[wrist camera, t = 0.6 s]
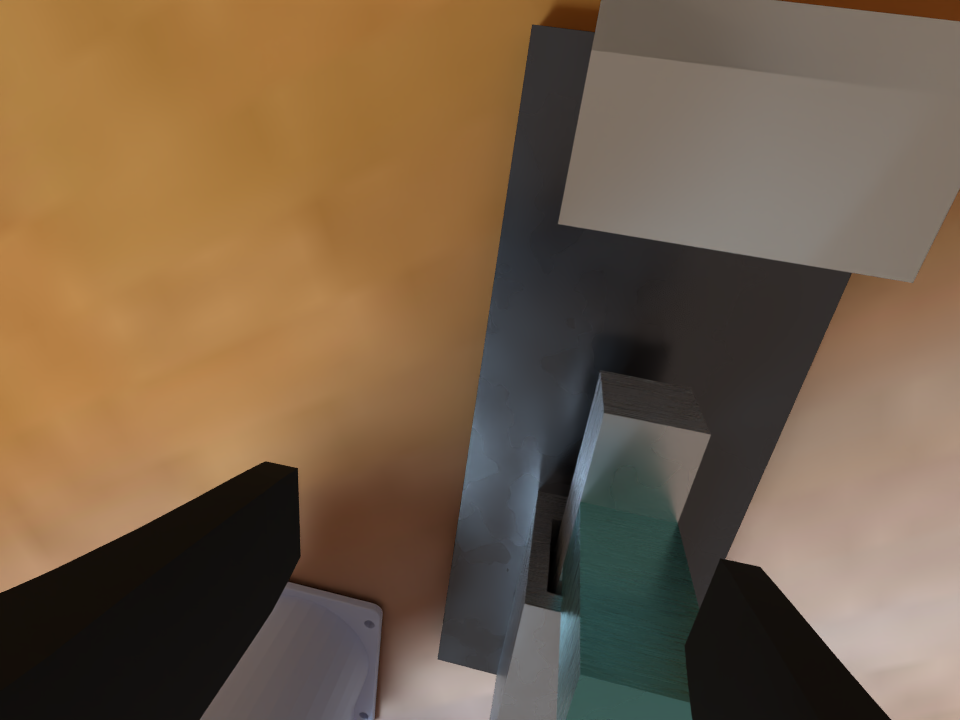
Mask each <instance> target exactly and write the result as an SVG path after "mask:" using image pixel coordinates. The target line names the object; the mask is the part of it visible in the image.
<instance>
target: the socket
mask: <svg viewBox="0 0 960 720" xmlns="http://www.w3.org/2000/svg"><path fill="white" fill-rule="evenodd" d="M959 189H960V21H951V20H943V19H934V18H925V17H916V16H908V15H899V14H890V13H882V12H873V11H864V10H855V9H847V8H838V7H829V6H821V5H812V4H803V3H794V2H786V1H777V0H601V4H600V9H599V14H598V19H597V24H596V30H595V35H594V40H593V45H592V50H591V55H590V61H589V66H588V71H587V76H586V81H585V87H584V92H583V97H582V102H581V107H580V112H579V118H578V123H577V128H576V133H575V138H574V144H573V149H572V154H571V159H570V164H569V169H568V175H567V180H566V185H565V190H564V195H563V201H562V206H561V211H560V216H559V221H558V224H561V225H567V226H573V227H579V228H585V229H591V230H597V231H603V232H609V233H615V234H621V235H627V236H633V237H639V238H645V239H651V240H657V241H663V242H669V243H675V244H681V245H687V246H693V247H699V248H705V249H711V250H718V251H724V252H730V253H736V254H742V255H748V256H754V257H760V258H766V259H772V260H778V261H784V262H790V263H796V264H802V265H808V266H814V267H820V268H826V269H832V270H838V271H844V272H850V273H856V274H862V275H868V276H874V277H880V278H886V279H892V280H898V281H904V282H911V283H913V282H914V280H915V278H916V276H917V274H918V272H919V270H920V268H921V266H922V264H923V262H924V259H925V257H926V255H927V253H928V251H929V249H930V247H931V245H932V243H933V241H934V239H935V237H936V235H937V233H938V231H939V229H940V227H941V225H942V223H943V221H944V219H945V217H946V215H947V213H948V211H949V209H950V207H951V205H952V203H953V201H954V199H955V197H956V195H957V193H958V191H959Z"/></svg>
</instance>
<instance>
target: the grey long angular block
mask: <svg viewBox="0 0 960 720" xmlns="http://www.w3.org/2000/svg"><path fill="white" fill-rule="evenodd" d="M594 35H595V32H588V31H580V30H572V29H564V28H556V27H548V26H540V25H532V29H531V36H530V42H529V49H528V56H527V63H526V69H525V76H524V83H523V89H522V96H521V103H520V110H519V116H518V123H517V130H516V136H515V143H514V150H513V157H512V163H511V170H510V177H509V183H508V190H507V197H506V204H505V210H504V217H503V224H502V230H501V237H500V244H499V251H498V257H497V264H496V271H495V277H494V284H493V291H492V297H491V304H490V311H489V318H488V324H487V331H486V338H485V344H484V351H483V358H482V365H481V371H480V378H479V385H478V391H477V398H476V405H475V412H474V418H473V425H472V432H471V438H470V445H469V452H468V459H467V465H466V472H465V479H464V485H463V492H462V499H461V505H460V512H459V519H458V526H457V532H456V539H455V546H454V552H453V559H452V566H451V573H450V579H449V586H448V593H447V599H446V606H445V613H444V620H443V626H442V633H441V640H440V646H439V653H438V659H439V660H442V661H446V662H450V663H454V664H458V665H461V666H465V667H469V668H473V669H477V670H481V671H484V672H488V673H492V674H496V675H497V676H496V682H495V689H494V695H493V702H492V708H491V715H490V720H556V718H557V694H558V669H559V645H560V620H561V595H557V594H552V593H548V592H547V582H548V573H549V569H550V565H551V562H552V558H553V554H554V550H555V546H556V542H557V538H558V534H559V530H560V526H561V522H562V519H563V515H564V511H565V507H566V503H567V499H568V495H569V491H570V487H571V483H572V480H573V476H574V472H575V468H576V464H577V460H578V456H579V452H580V448H581V444H582V441H583V437H584V433H585V429H586V425H587V421H588V417H589V413H590V409H591V405H592V402H593V398H594V394H595V390H596V386H597V382H598V378H599V374H600V370H601V371H606V372H612V373H617V374H622V375H627V376H632V377H637V378H642V379H648V380H653V381H658V382H663V383H668V384H673V385H678V386H684V387H689V388H691V390H692V392H693V395H694V397H695V399H696V402H697V404H698V406H699V408H700V411H701V413H702V415H703V417H704V420H705V422H706V424H707V427H708V429H709V431H710V433H711V436H710V439H709V441H708V444H707V447H706V449H705V452H704V455H703V457H702V460H701V463H700V465H699V468H698V471H697V473H696V476H695V478H694V481H693V484H692V486H691V489H690V492H689V494H688V497H687V500H686V502H685V505H684V508H683V510H682V513H681V516H680V518H679V521H678V527H679V531H680V535H681V538H682V542H683V546H684V550H685V554H686V558H687V562H688V566H689V570H690V574H691V578H692V582H693V586H694V590H695V594H696V598H697V602H698V606H699V609H700V607H701V604H702V602H703V599H704V597H705V595H706V592H707V590H708V587H709V585H710V582H711V580H712V577H713V575H714V573H715V570H716V568H717V565H718V563H719V560H720V558H721V559H725V558H726V556H727V554H728V552H729V549H730V547H731V545H732V543H733V540H734V538H735V536H736V534H737V531H738V529H739V527H740V525H741V522H742V520H743V518H744V516H745V513H746V511H747V509H748V506H749V504H750V502H751V500H752V497H753V495H754V493H755V491H756V488H757V486H758V484H759V482H760V479H761V477H762V475H763V473H764V470H765V468H766V466H767V464H768V461H769V459H770V457H771V454H772V452H773V450H774V448H775V445H776V443H777V441H778V439H779V436H780V434H781V432H782V430H783V427H784V425H785V423H786V421H787V418H788V416H789V414H790V412H791V409H792V407H793V405H794V403H795V400H796V398H797V396H798V393H799V391H800V389H801V387H802V384H803V382H804V380H805V378H806V375H807V373H808V371H809V369H810V366H811V364H812V362H813V360H814V357H815V355H816V353H817V351H818V348H819V346H820V344H821V341H822V339H823V337H824V335H825V332H826V330H827V328H828V326H829V323H830V321H831V319H832V317H833V314H834V312H835V310H836V308H837V305H838V303H839V301H840V299H841V296H842V294H843V292H844V290H845V287H846V285H847V283H848V280H849V278H850V276H851V274H852V273H850V272H844V271H838V270H832V269H826V268H820V267H814V266H808V265H802V264H796V263H790V262H784V261H778V260H772V259H766V258H760V257H754V256H748V255H742V254H736V253H730V252H724V251H718V250H711V249H705V248H699V247H693V246H687V245H681V244H675V243H669V242H663V241H657V240H651V239H645V238H639V237H633V236H627V235H621V234H615V233H609V232H603V231H597V230H591V229H585V228H579V227H573V226H567V225H561V224H558V221H559V216H560V211H561V206H562V201H563V195H564V190H565V185H566V180H567V175H568V169H569V164H570V159H571V154H572V149H573V144H574V138H575V133H576V128H577V123H578V118H579V112H580V107H581V102H582V97H583V92H584V87H585V81H586V76H587V71H588V66H589V61H590V55H591V50H592V45H593V40H594Z"/></svg>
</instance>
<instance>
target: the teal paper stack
mask: <svg viewBox="0 0 960 720" xmlns="http://www.w3.org/2000/svg"><path fill="white" fill-rule="evenodd" d="M710 436H711V433H710V431H709V429H708V427H707V424H706V422H705V420H704V417H703V415H702V413H701V411H700V408H699V406H698V404H697V402H696V399H695V397H694V395H693V392H692V390H691V388H689V387H684V386H678V385H673V384H668V383H663V382H658V381H653V380H648V379H642V378H637V377H632V376H627V375H622V374H617V373H612V372H606V371H601V370H600V374H599V378H598V382H597V386H596V390H595V394H594V398H593V402H592V405H591V409H590V413H589V417H588V421H587V425H586V429H585V433H584V437H583V441H582V444H581V448H580V452H579V456H578V460H577V464H576V468H575V472H574V476H573V480H572V483H571V487H570V491H569V495H568V499H567V503H566V507H565V511H564V515H563V519H562V522H561V526H560V530H559V534H558V538H557V542H556V546H555V550H554V554H553V558H552V562H551V565H550V569H549V573H548V582H547V592H548V593H552V594H557V595H561V620H560V645H559V669H558V694H557V718H556V720H692V715H691V706H690V698H689V689H688V680H687V669H686V658H685V647H684V646H685V643H686V641H687V638H688V636H689V633H690V631H691V629H692V626H693V624H694V621H695V619H696V616H697V614H698V612H699V606H698V602H697V598H696V594H695V590H694V586H693V582H692V578H691V574H690V570H689V566H688V562H687V558H686V554H685V550H684V546H683V542H682V538H681V535H680V531H679V527H678V521H679V518H680V516H681V513H682V510H683V508H684V505H685V502H686V500H687V497H688V494H689V492H690V489H691V486H692V484H693V481H694V478H695V476H696V473H697V471H698V468H699V465H700V463H701V460H702V457H703V455H704V452H705V449H706V447H707V444H708V441H709V439H710Z"/></svg>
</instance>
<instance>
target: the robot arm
mask: <svg viewBox="0 0 960 720" xmlns="http://www.w3.org/2000/svg"><path fill="white" fill-rule="evenodd" d="M300 556H301V555H300V524H299V492H298V468H294V467H290V466H285V465H280V464H275V463H271V462H266V461H265V462H263V463H261V464H259V465H257V466H255V467H253V468H251V469H249V470H247V471H245V472H243V473H241V474H240V475H238V476H236V477H234V478H232V479H230V480H228V481H226V482H225V483H223V484H221V485H219V486H217V487H215V488H214V489H212V490H210V491H208V492H206V493H204V494H202V495H201V496H199V497H197V498H195V499H193V500H191V501H189V502H188V503H186V504H184V505H182V506H180V507H178V508H176V509H174V510H172V511H170V512H169V513H167V514H165V515H163V516H161V517H159V518H157V519H155V520H153V521H152V522H150V523H148V524H146V525H144V526H142V527H140V528H138V529H136V530H134V531H132V532H130V533H128V534H126V535H124V536H122V537H120V538H118V539H116V540H114V541H112V542H110V543H108V544H106V545H103V546H101V547H99V548H97V549H95V550H93V551H91V552H89V553H87V554H85V555H83V556H81V557H79V558H77V559H75V560H73V561H71V562H69V563H67V564H64V565H62V566H60V567H58V568H56V569H54V570H52V571H49V572H47V573H45V574H43V575H41V576H38V577H36V578H34V579H32V580H29V581H27V582H25V583H23V584H20V585H18V586H16V587H13V588H11V589H9V590H7V591H4V592H2V593H0V720H374V717H375V704H376V692H377V679H378V666H379V653H380V641H381V628H382V615H383V613H382V610H381V608H380V607H379V606H378V605H376V604H374V603H370V602H366V601H362V600H358V599H354V598H350V597H346V596H342V595H338V594H334V593H331V592H327V591H323V590H319V589H315V588H311V587H307V586H303V585H299V584H295V583H291V582H288V580H289V578H290V576H291V574H292V572H293V570H294V568H295V566H296V564H297V562H298V560H299V558H300ZM684 647H685V658H686V669H687V680H688V689H689V698H690V706H691V715H692V720H891V719H890V718H889V717H888V716H887V714H886V713H885V712H884V711H883V710H882V709H881V708H880V707H879V705H878V704H877V703H876V702H875V701H874V700H873V699H872V697H871V696H870V695H869V694H868V693H867V692H866V691H865V689H864V688H863V687H862V686H861V685H860V684H859V682H858V681H857V680H856V679H855V678H854V677H853V676H852V674H851V673H850V672H849V671H848V670H847V669H846V667H845V666H844V665H843V664H842V663H841V662H840V660H839V659H838V658H837V657H836V656H835V654H834V653H833V652H832V651H831V650H830V649H829V647H828V646H827V645H826V644H825V643H824V641H823V640H822V639H821V638H820V637H819V635H818V634H817V633H816V632H815V631H814V630H813V628H812V627H811V626H810V625H809V624H808V622H807V621H806V620H805V619H804V618H803V616H802V615H801V614H800V613H799V612H798V610H797V609H796V608H795V607H794V606H793V605H792V603H791V602H790V601H789V600H788V599H787V597H786V596H785V595H784V594H783V593H782V591H781V590H780V589H779V588H778V587H777V586H776V584H775V583H774V582H773V581H772V580H771V579H770V578H769V576H768V575H767V574H766V573H765V572H764V571H763V570H762V569H761V568H760V567H758V566H753V565H749V564H744V563H739V562H735V561H730V560H725V559H721V558H720V560H719V563H718V565H717V568H716V570H715V573H714V575H713V577H712V580H711V582H710V585H709V587H708V590H707V592H706V595H705V597H704V599H703V602H702V604H701V607H700V609H699V612H698V614H697V616H696V619H695V621H694V624H693V626H692V629H691V631H690V633H689V636H688V638H687V641H686V643H685V646H684Z"/></svg>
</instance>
